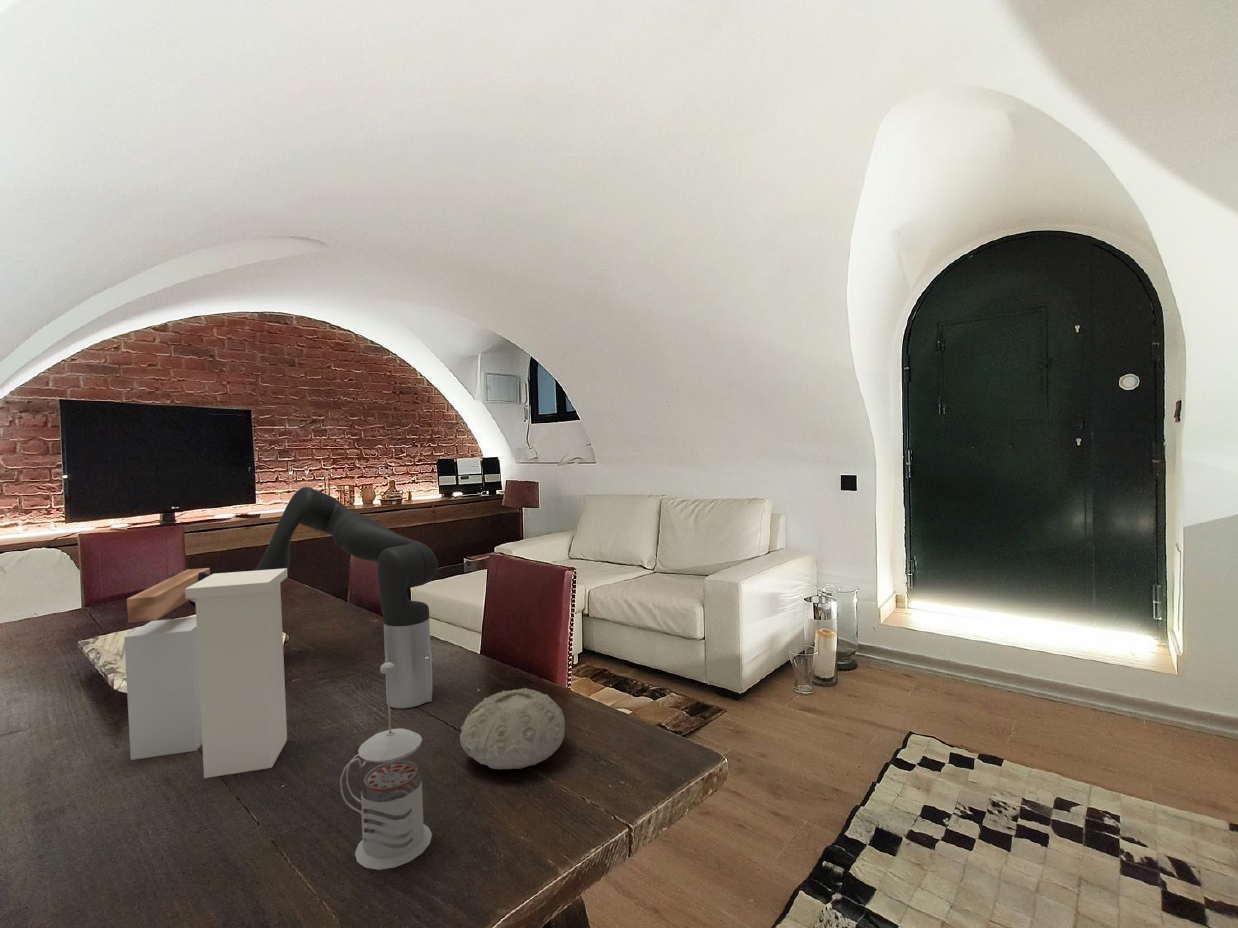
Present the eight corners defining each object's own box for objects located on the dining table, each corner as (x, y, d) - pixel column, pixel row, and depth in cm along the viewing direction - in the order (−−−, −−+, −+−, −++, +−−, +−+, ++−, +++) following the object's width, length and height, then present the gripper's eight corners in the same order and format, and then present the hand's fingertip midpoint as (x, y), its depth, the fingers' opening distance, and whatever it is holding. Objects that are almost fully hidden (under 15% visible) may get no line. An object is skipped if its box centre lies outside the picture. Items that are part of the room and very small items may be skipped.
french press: (416, 869, 75) (409, 676, 75) (327, 869, 76) (319, 677, 75) (441, 820, 85) (435, 649, 84) (362, 820, 86) (355, 650, 85)
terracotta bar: (210, 586, 124) (209, 567, 123) (156, 620, 101) (154, 596, 100) (188, 588, 122) (187, 569, 122) (128, 622, 99) (126, 598, 99)
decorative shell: (481, 797, 91) (479, 733, 90) (448, 747, 106) (446, 693, 106) (583, 761, 100) (581, 703, 100) (539, 721, 115) (538, 670, 115)
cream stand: (294, 736, 111) (287, 568, 110) (276, 769, 100) (268, 582, 99) (221, 746, 108) (213, 573, 107) (194, 782, 97) (185, 588, 96)
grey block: (217, 725, 117) (211, 615, 116) (196, 750, 107) (190, 630, 106) (157, 733, 114) (151, 620, 113) (130, 759, 104) (124, 636, 104)
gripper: (182, 587, 131) (148, 562, 117) (255, 581, 135) (230, 556, 121) (176, 621, 128) (140, 599, 114) (251, 614, 132) (225, 592, 117)
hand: (187, 577), depth 117 cm, fingers closed on terracotta bar, 4 cm apart
